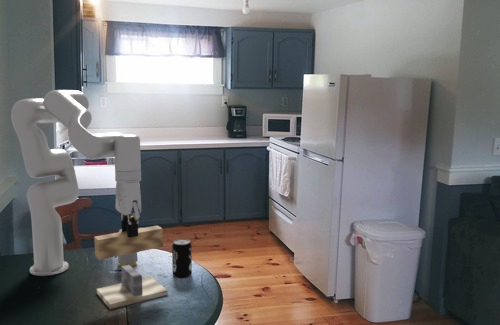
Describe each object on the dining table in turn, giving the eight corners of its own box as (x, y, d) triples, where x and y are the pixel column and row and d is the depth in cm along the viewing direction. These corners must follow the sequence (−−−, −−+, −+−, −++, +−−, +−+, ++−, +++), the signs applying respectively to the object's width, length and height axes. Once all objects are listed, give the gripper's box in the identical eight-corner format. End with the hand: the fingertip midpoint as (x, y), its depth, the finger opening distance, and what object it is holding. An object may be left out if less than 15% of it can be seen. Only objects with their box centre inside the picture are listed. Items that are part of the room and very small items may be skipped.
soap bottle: (140, 265, 169) (139, 217, 166) (122, 269, 164) (121, 220, 162) (133, 259, 174) (132, 213, 171) (115, 263, 170) (113, 216, 167)
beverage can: (188, 279, 156) (187, 245, 154) (169, 277, 157) (169, 243, 155) (194, 272, 162) (194, 239, 161) (176, 270, 164) (176, 237, 162)
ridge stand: (96, 293, 144) (95, 270, 143) (151, 280, 154) (150, 259, 153) (110, 309, 134) (109, 284, 133) (167, 294, 144) (167, 271, 143)
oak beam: (157, 243, 149) (157, 225, 148) (163, 246, 146) (162, 228, 145) (95, 256, 138) (94, 236, 137) (99, 259, 135) (98, 240, 134)
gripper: (107, 172, 143) (109, 230, 146) (125, 181, 130) (127, 244, 132) (130, 170, 148) (132, 226, 150) (150, 178, 134) (152, 239, 136)
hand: (129, 234), depth 141 cm, fingers closed on oak beam, 4 cm apart
